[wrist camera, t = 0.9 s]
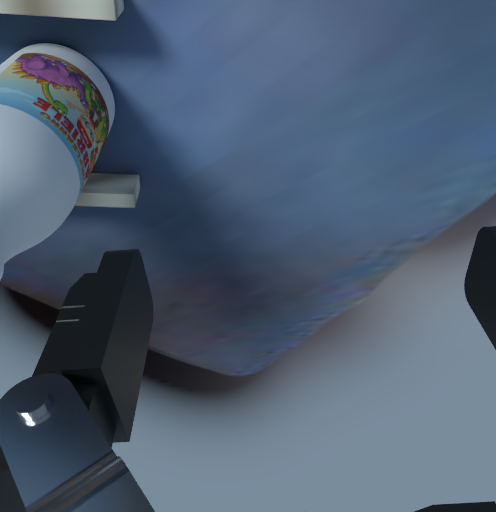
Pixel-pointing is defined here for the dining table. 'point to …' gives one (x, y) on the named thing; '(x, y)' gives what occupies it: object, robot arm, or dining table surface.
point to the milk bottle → (47, 140)
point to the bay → (100, 8)
